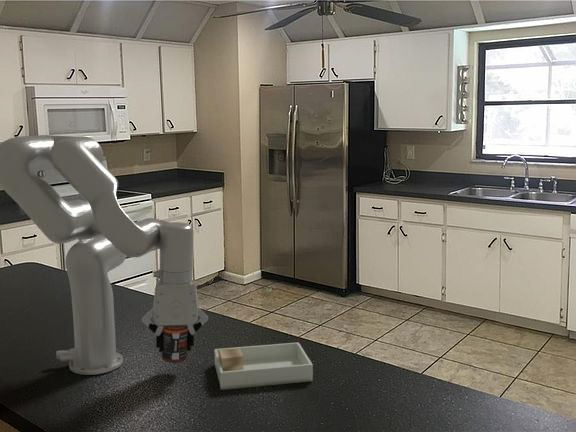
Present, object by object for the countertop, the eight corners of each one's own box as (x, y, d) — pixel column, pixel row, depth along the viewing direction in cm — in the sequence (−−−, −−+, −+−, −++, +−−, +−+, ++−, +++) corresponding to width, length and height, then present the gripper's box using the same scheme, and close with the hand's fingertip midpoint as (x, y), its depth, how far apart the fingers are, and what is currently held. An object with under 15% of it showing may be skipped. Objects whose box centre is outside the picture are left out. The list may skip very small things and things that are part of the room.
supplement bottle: (181, 365, 143) (182, 319, 141) (157, 362, 145) (158, 316, 143) (190, 355, 149) (191, 311, 147) (167, 352, 150) (168, 308, 148)
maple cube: (222, 378, 142) (221, 358, 142) (219, 370, 147) (219, 350, 146) (243, 376, 144) (243, 356, 143) (240, 368, 148) (240, 348, 147)
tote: (220, 389, 138) (220, 372, 138) (214, 364, 152) (214, 349, 151) (312, 381, 143) (312, 364, 142) (298, 357, 156) (298, 342, 156)
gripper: (137, 281, 138) (137, 357, 141) (214, 280, 141) (212, 354, 145) (138, 272, 145) (137, 344, 148) (211, 271, 149) (209, 342, 152)
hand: (174, 348), depth 146 cm, fingers closed on supplement bottle, 6 cm apart
